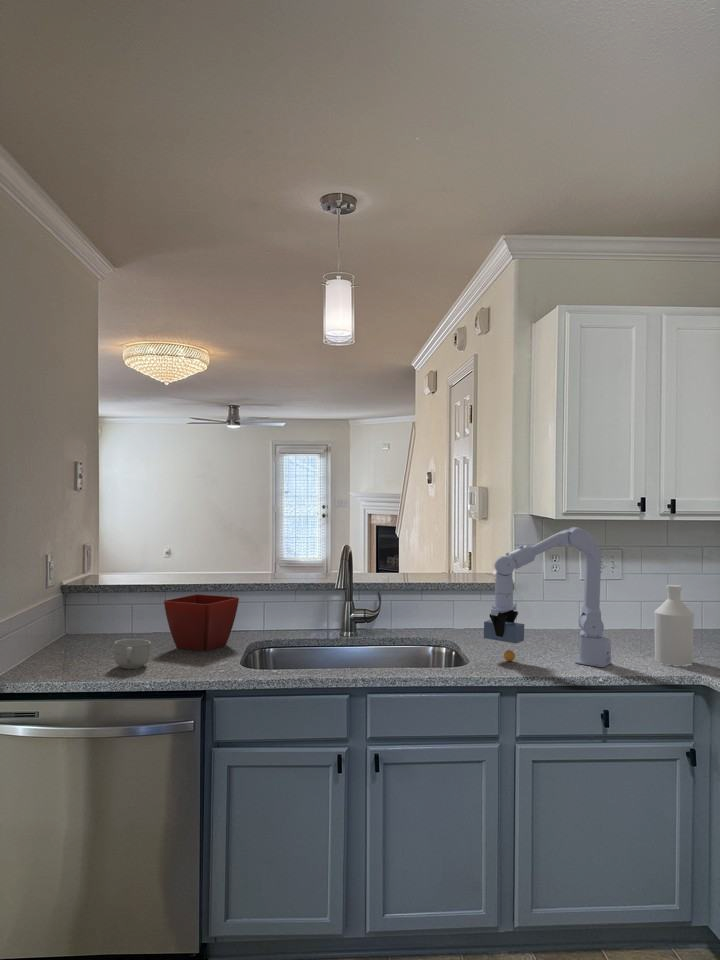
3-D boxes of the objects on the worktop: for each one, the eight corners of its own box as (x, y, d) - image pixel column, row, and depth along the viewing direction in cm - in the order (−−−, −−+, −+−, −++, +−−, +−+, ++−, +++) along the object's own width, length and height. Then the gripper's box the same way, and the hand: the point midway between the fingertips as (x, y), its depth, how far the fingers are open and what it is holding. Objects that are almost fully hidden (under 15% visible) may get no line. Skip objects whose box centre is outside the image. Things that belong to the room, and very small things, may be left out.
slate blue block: (523, 640, 244) (524, 624, 244) (516, 643, 240) (516, 626, 240) (491, 635, 251) (492, 619, 251) (483, 638, 247) (484, 621, 246)
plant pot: (196, 639, 276) (196, 593, 276) (239, 644, 268) (240, 597, 268) (162, 649, 258) (162, 600, 258) (207, 655, 250) (207, 604, 250)
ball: (505, 649, 247) (506, 660, 246) (501, 651, 244) (502, 662, 243) (516, 649, 245) (517, 660, 244) (512, 651, 242) (513, 662, 241)
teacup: (121, 662, 239) (121, 637, 239) (155, 663, 239) (155, 637, 239) (105, 673, 225) (105, 646, 225) (140, 674, 225) (141, 647, 225)
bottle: (694, 668, 237) (695, 588, 237) (654, 664, 241) (654, 586, 241) (692, 659, 248) (692, 584, 248) (653, 656, 252) (654, 582, 252)
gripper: (502, 589, 254) (502, 629, 254) (482, 594, 242) (482, 636, 242) (522, 591, 249) (521, 632, 249) (502, 596, 238) (502, 639, 238)
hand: (503, 634), depth 245 cm, fingers closed on slate blue block, 6 cm apart
